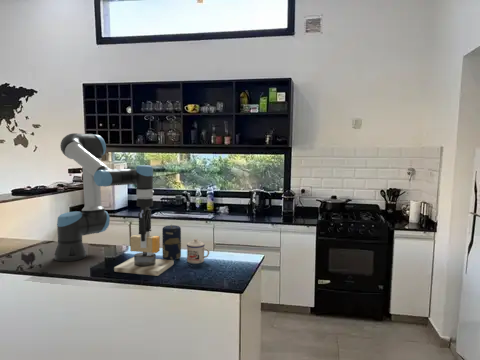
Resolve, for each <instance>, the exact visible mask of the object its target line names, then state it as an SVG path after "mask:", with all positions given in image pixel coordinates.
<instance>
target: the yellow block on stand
mask: <svg viewBox="0 0 480 360" xmlns="http://www.w3.org/2000/svg"><path fill="white" fill-rule="evenodd" d="M160 236H161V235H159V236H158V235H150V236H147V248H141V236H140V234H132V235H131V236H130V237H129V238H130V239H129V242H130V244H129V245H130V247H129V248H130V252H137V253H135V254H134V256H133V257H134V264H135V265H136V266H151V265H154V264H155V263H156V259H157V258H156V257H157V253H158V252H160V249H161V248H160V247H161V246H160V243H161V242H160V241H161V240H160V239H161V237H160Z"/></svg>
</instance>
